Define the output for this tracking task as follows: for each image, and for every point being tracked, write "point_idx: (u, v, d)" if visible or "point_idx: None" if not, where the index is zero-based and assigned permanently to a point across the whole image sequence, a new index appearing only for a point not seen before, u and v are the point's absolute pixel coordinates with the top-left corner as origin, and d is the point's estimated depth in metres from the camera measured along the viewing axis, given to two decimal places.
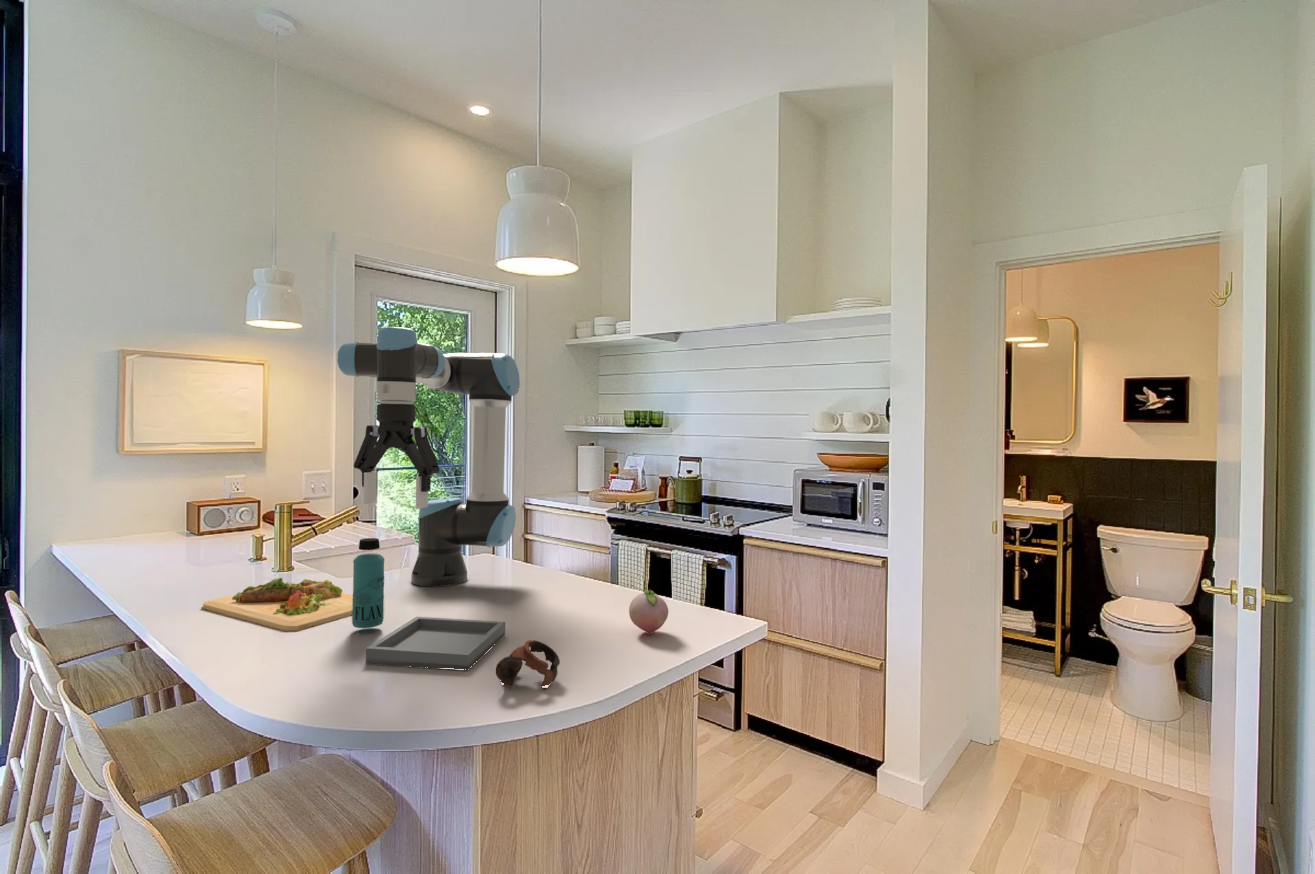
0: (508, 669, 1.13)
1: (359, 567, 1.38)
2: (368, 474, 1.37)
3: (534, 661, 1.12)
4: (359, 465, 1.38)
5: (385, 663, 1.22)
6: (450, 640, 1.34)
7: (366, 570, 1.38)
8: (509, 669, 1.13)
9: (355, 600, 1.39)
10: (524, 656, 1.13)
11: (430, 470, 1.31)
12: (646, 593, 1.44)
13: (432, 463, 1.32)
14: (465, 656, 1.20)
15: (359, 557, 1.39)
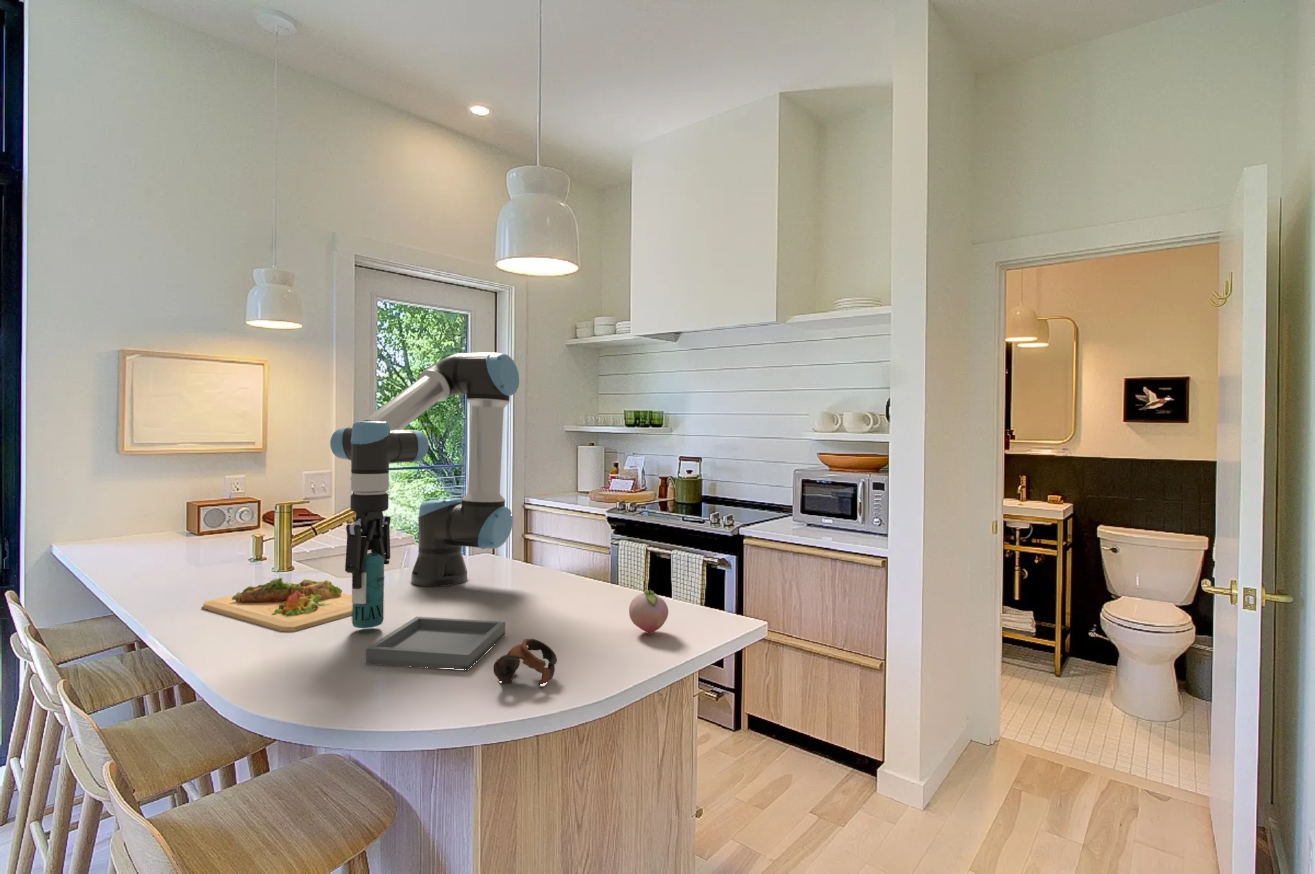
0: (506, 667, 1.14)
1: None
2: None
3: (532, 660, 1.13)
4: None
5: (385, 663, 1.22)
6: (450, 640, 1.34)
7: (366, 570, 1.38)
8: (507, 667, 1.14)
9: None
10: (522, 654, 1.14)
11: None
12: (646, 593, 1.44)
13: (349, 564, 1.34)
14: (465, 656, 1.20)
15: None
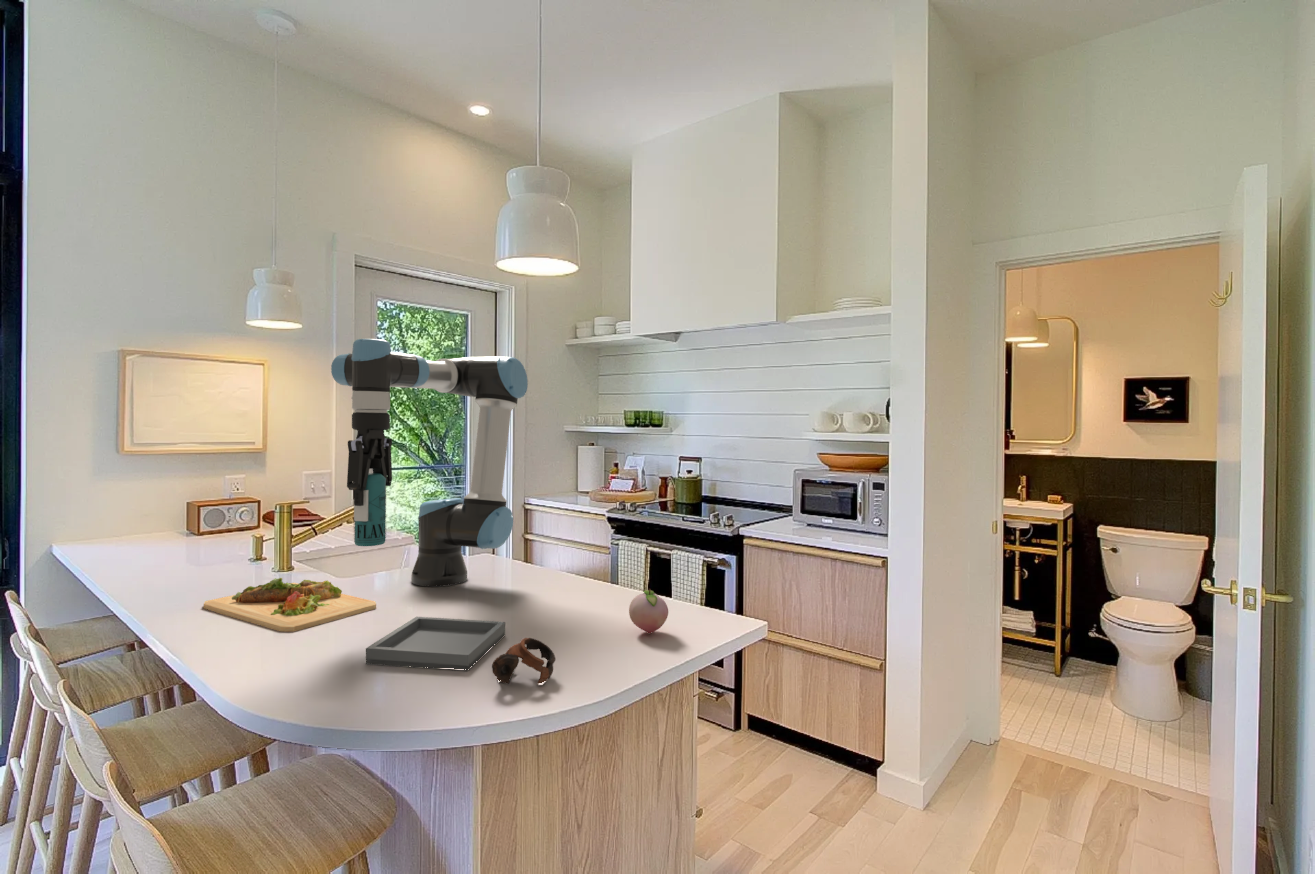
0: (504, 666, 1.14)
1: None
2: None
3: (531, 659, 1.13)
4: None
5: (385, 663, 1.22)
6: (450, 640, 1.34)
7: (368, 488, 1.38)
8: (505, 666, 1.14)
9: None
10: (520, 653, 1.14)
11: None
12: (646, 593, 1.44)
13: (351, 479, 1.34)
14: (465, 656, 1.20)
15: None
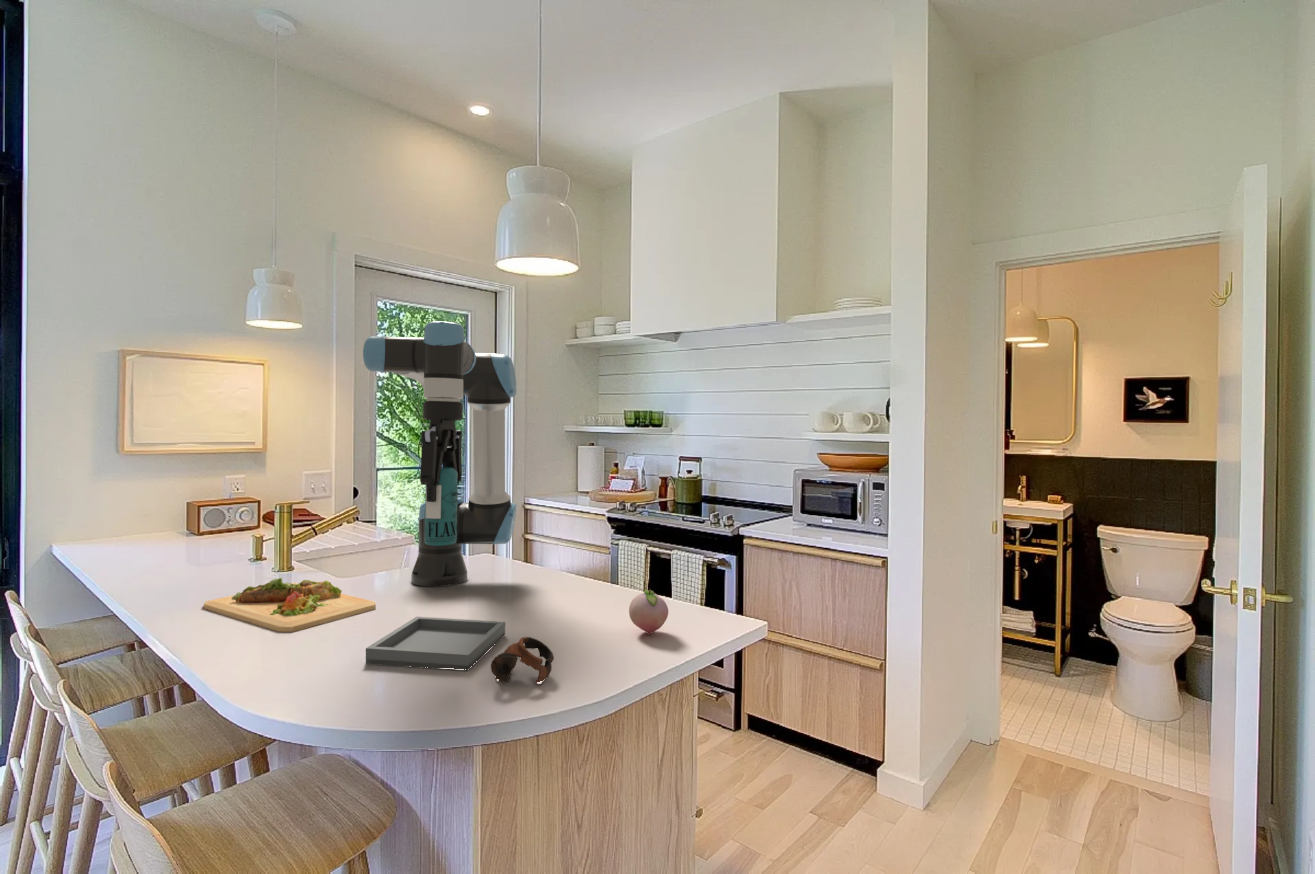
0: (503, 665, 1.15)
1: None
2: None
3: (529, 658, 1.14)
4: None
5: (385, 663, 1.22)
6: (450, 640, 1.34)
7: (441, 482, 1.27)
8: (504, 665, 1.14)
9: None
10: (519, 652, 1.15)
11: None
12: (646, 593, 1.44)
13: (425, 473, 1.24)
14: (465, 656, 1.20)
15: None
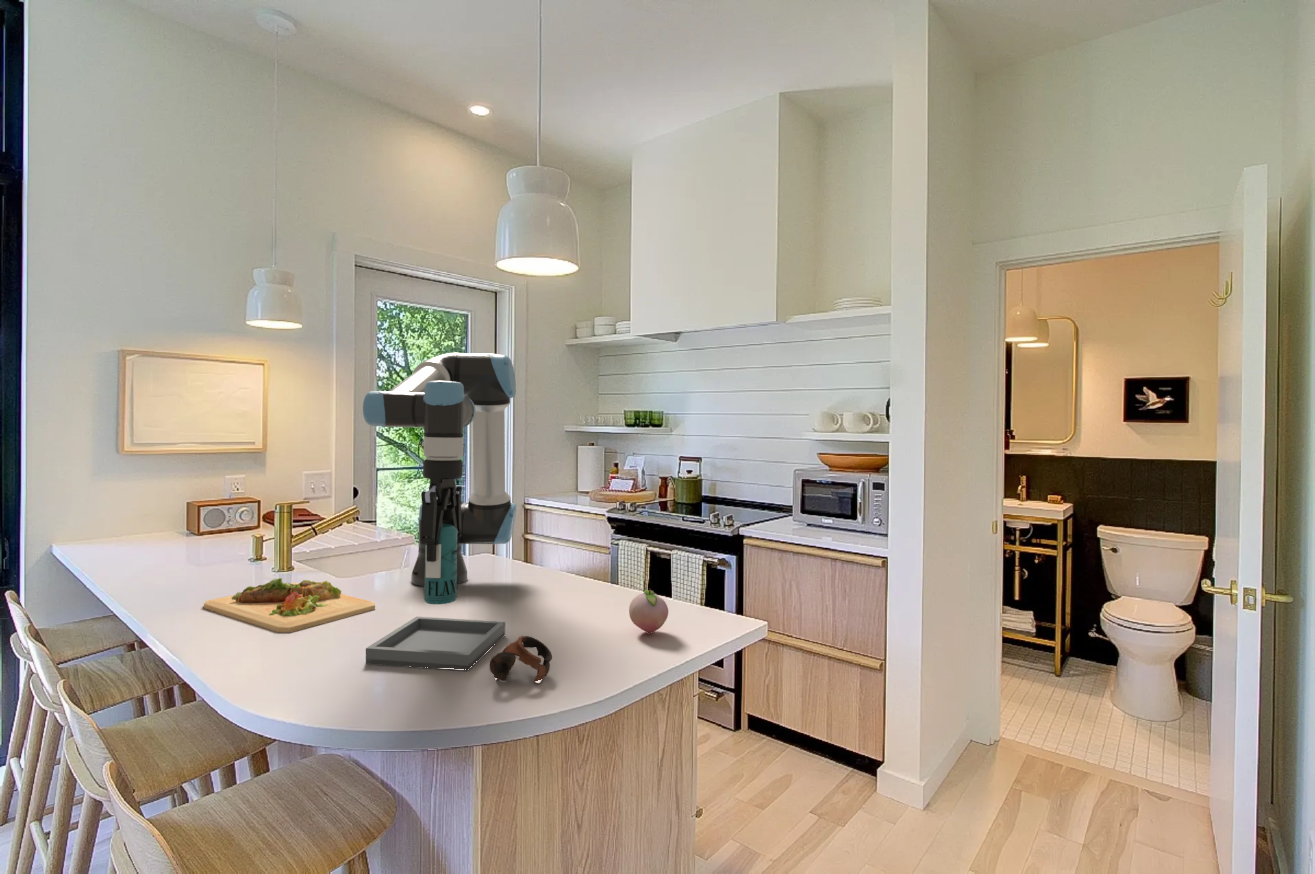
0: (501, 664, 1.15)
1: None
2: None
3: (528, 657, 1.14)
4: None
5: (385, 663, 1.22)
6: (450, 640, 1.34)
7: (441, 541, 1.28)
8: (502, 664, 1.15)
9: None
10: (518, 651, 1.15)
11: None
12: (646, 593, 1.44)
13: (425, 534, 1.24)
14: (465, 656, 1.20)
15: None
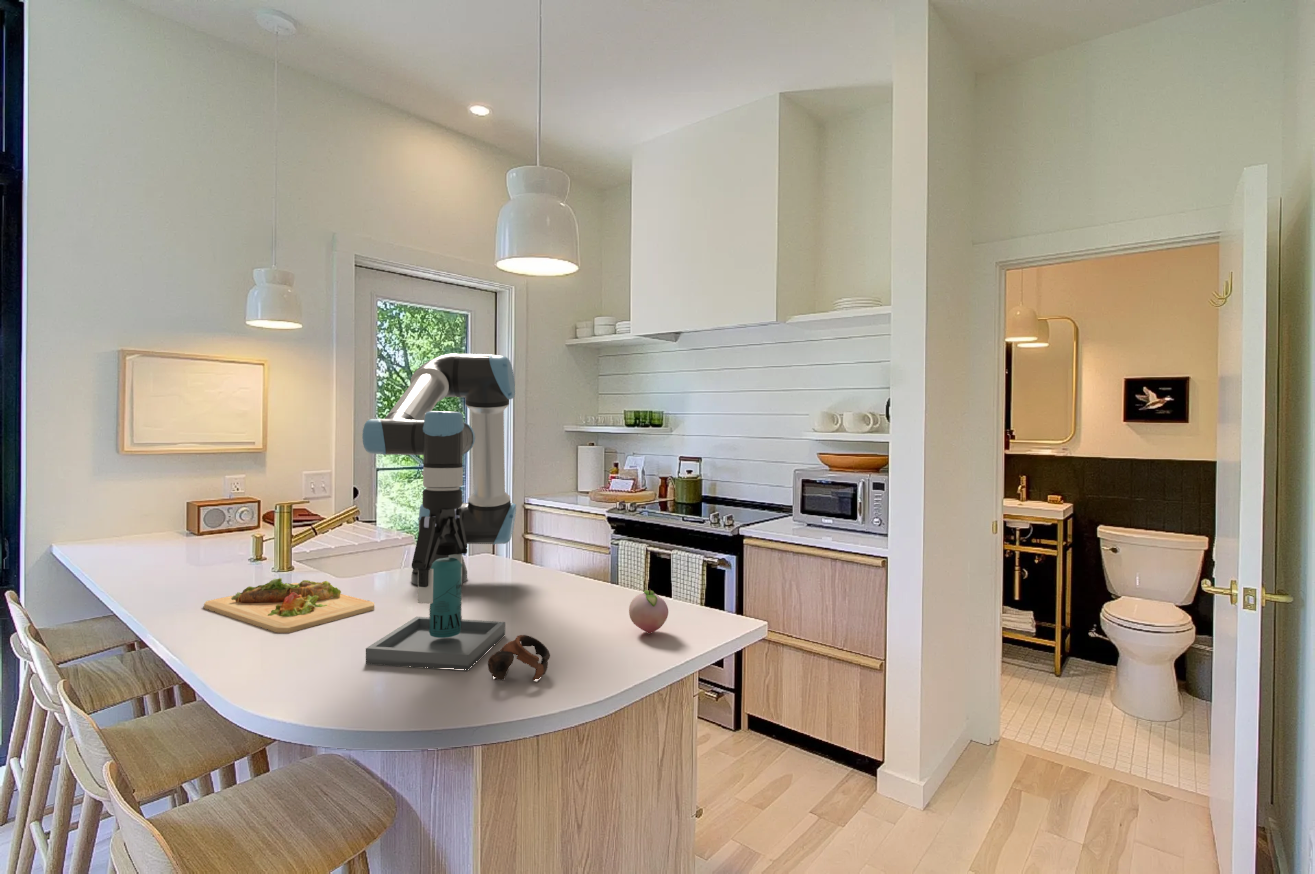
0: (500, 663, 1.16)
1: (437, 573, 1.30)
2: (450, 556, 1.37)
3: (526, 655, 1.15)
4: None
5: (385, 663, 1.22)
6: (450, 640, 1.34)
7: (445, 576, 1.30)
8: (501, 663, 1.15)
9: (433, 608, 1.31)
10: (516, 650, 1.16)
11: (412, 565, 1.21)
12: (646, 593, 1.44)
13: (417, 558, 1.21)
14: (465, 656, 1.20)
15: (437, 562, 1.31)
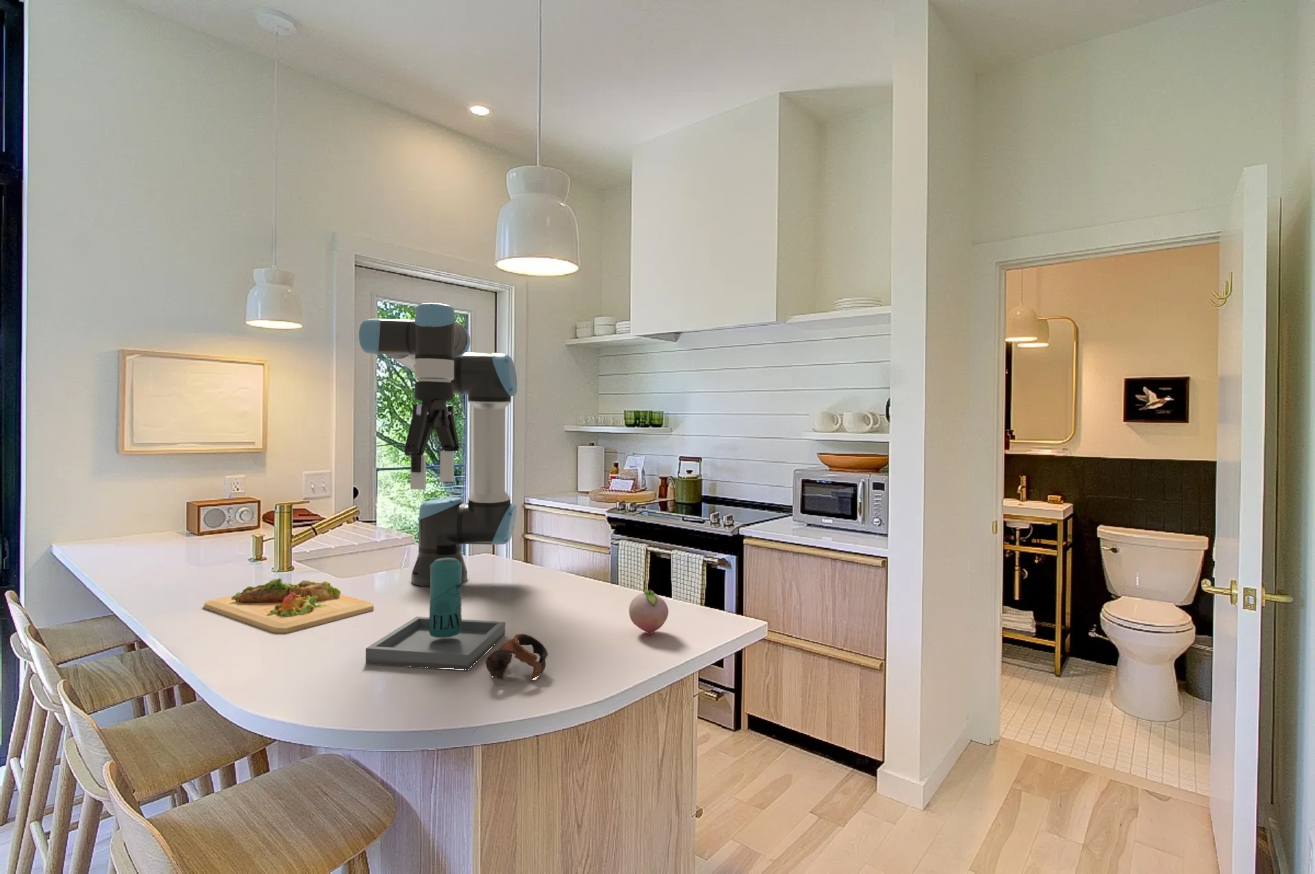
0: (498, 662, 1.16)
1: (437, 573, 1.30)
2: (442, 453, 1.40)
3: (524, 654, 1.16)
4: None
5: (385, 663, 1.22)
6: (450, 640, 1.34)
7: (445, 576, 1.30)
8: (499, 662, 1.16)
9: (433, 608, 1.31)
10: (514, 649, 1.16)
11: (404, 449, 1.23)
12: (646, 593, 1.44)
13: (410, 443, 1.23)
14: (465, 656, 1.20)
15: (437, 562, 1.31)
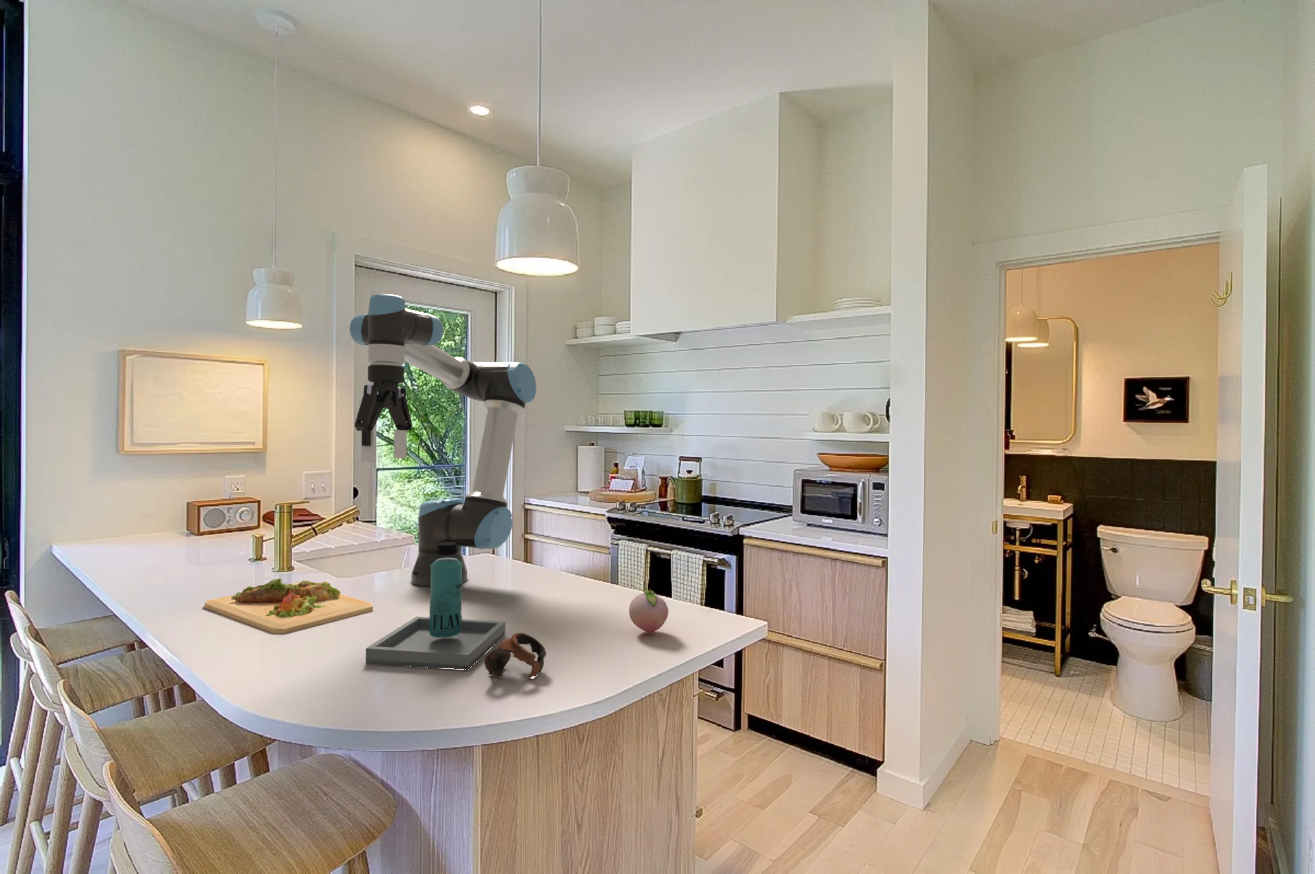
0: (496, 661, 1.17)
1: (438, 573, 1.31)
2: (396, 431, 1.53)
3: (522, 653, 1.16)
4: None
5: (385, 663, 1.22)
6: (450, 640, 1.34)
7: (446, 576, 1.30)
8: (497, 661, 1.16)
9: (433, 608, 1.31)
10: (512, 648, 1.17)
11: None
12: (646, 593, 1.44)
13: (360, 419, 1.37)
14: (465, 656, 1.20)
15: (437, 562, 1.31)
